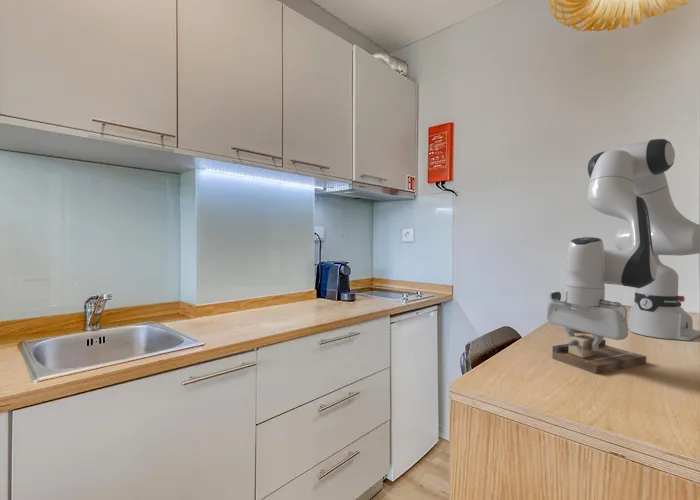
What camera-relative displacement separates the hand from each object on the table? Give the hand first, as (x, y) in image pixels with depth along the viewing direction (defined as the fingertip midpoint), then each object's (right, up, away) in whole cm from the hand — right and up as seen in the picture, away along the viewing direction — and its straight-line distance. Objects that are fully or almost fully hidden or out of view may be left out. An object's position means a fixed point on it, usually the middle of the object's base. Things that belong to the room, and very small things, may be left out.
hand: (583, 347), depth 94 cm
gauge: (0, -2, 0) cm, 2 cm away
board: (+5, -4, +1) cm, 6 cm away
